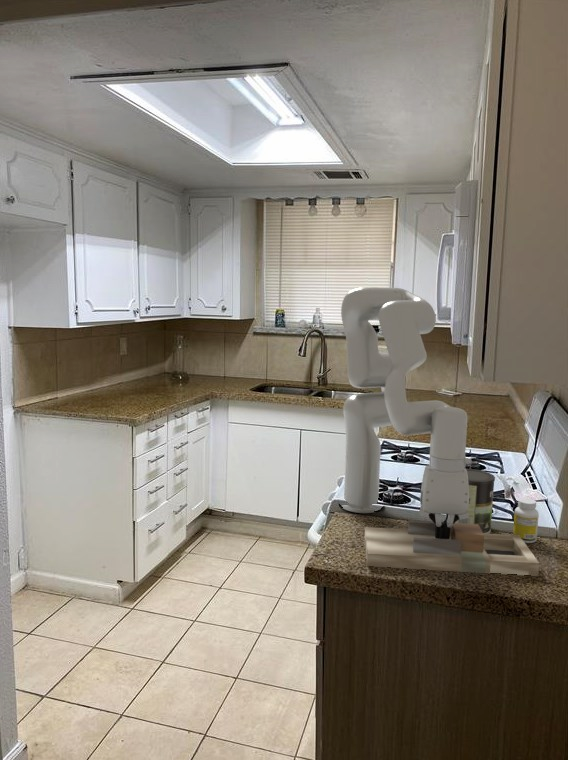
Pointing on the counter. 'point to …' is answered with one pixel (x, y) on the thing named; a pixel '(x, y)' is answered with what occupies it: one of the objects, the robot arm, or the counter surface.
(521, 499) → the supplement bottle
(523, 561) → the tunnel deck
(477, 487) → the coffee can
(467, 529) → the walnut block
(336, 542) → the counter surface
